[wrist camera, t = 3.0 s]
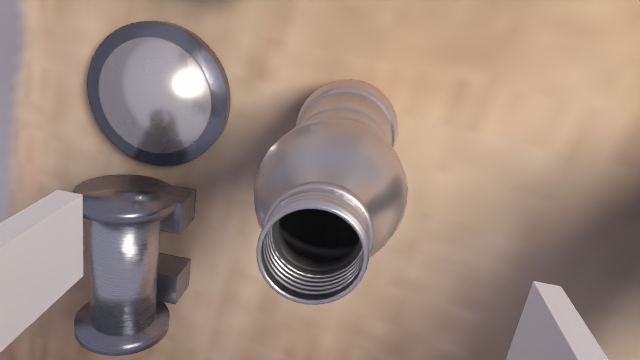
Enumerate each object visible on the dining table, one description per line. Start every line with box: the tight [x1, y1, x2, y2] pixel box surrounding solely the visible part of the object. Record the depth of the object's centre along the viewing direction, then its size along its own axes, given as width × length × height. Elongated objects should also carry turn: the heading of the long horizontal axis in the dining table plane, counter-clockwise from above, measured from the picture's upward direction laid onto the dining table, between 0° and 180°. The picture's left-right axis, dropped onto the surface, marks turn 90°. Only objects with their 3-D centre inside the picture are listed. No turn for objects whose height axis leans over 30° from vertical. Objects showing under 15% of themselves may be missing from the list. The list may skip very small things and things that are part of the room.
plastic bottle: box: [254, 79, 408, 305], centre depth 25 cm, size 6×7×20 cm
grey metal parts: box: [73, 21, 230, 356], centre depth 34 cm, size 21×10×8 cm, turn 171°
